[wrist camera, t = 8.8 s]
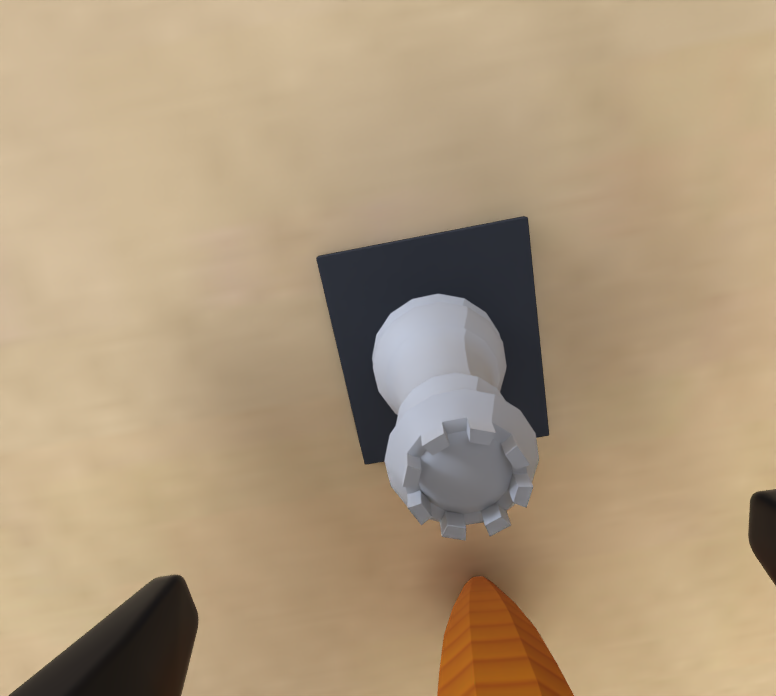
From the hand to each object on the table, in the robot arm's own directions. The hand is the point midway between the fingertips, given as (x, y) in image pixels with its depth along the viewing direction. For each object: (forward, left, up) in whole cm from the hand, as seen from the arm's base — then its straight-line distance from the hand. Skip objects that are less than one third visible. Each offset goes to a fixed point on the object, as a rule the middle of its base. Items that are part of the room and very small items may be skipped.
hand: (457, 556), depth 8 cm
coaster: (0, -1, -10) cm, 10 cm away
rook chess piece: (0, 0, -10) cm, 10 cm away
